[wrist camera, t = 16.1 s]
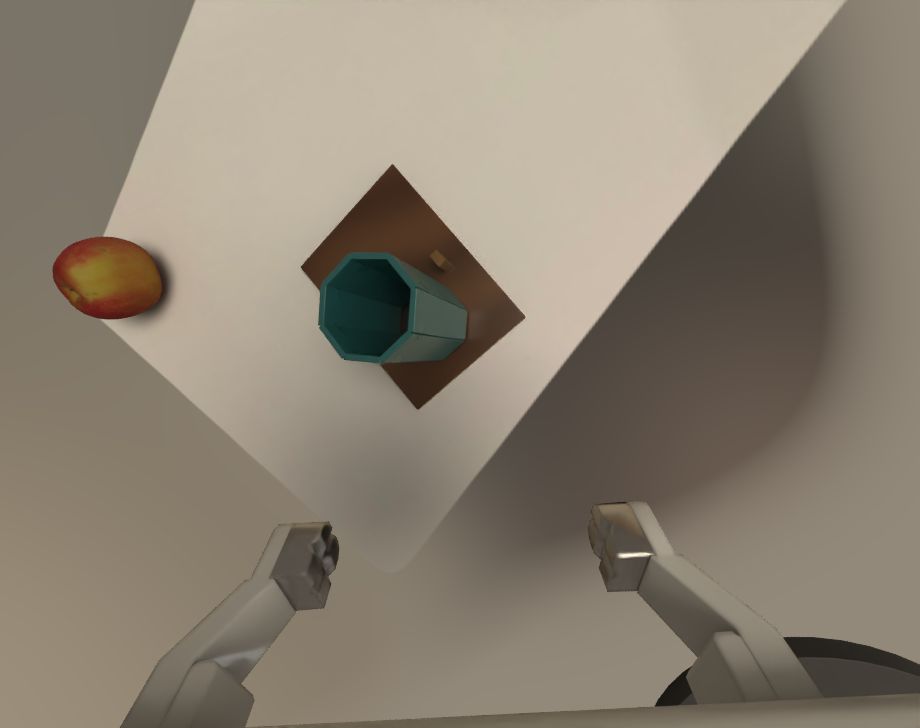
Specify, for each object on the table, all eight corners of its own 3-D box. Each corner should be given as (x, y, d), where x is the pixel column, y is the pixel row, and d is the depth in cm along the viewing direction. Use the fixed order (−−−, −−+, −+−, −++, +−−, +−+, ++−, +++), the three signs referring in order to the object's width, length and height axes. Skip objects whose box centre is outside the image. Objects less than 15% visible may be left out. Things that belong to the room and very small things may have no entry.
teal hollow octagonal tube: (481, 326, 30) (437, 311, 19) (428, 373, 31) (360, 383, 21) (435, 272, 31) (370, 229, 20) (386, 320, 32) (301, 303, 22)
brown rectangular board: (526, 317, 30) (524, 315, 27) (421, 407, 33) (408, 416, 30) (396, 168, 32) (380, 149, 28) (306, 268, 35) (282, 262, 31)
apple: (117, 276, 40) (15, 263, 32) (160, 233, 38) (63, 209, 30) (150, 332, 40) (55, 332, 32) (195, 291, 38) (106, 282, 30)
